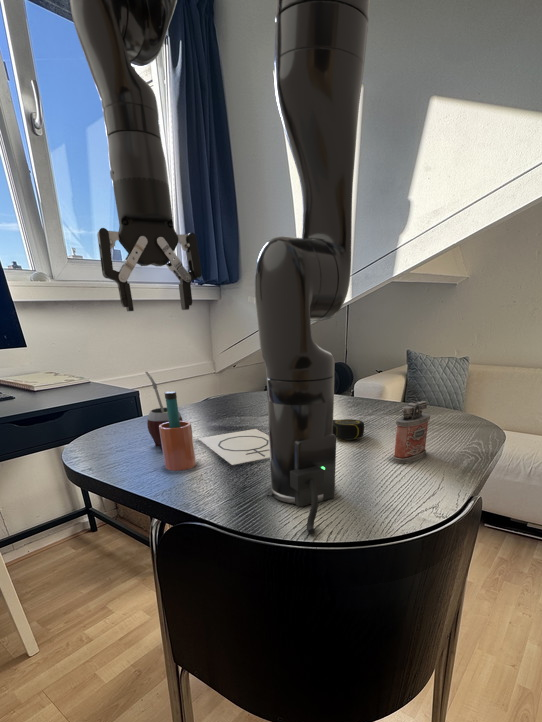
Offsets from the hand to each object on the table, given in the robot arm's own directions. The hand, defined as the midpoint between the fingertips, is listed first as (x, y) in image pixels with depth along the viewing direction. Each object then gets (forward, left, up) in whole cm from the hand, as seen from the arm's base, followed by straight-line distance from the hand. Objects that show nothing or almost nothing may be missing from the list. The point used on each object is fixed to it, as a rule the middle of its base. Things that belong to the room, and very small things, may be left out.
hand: (158, 310), depth 64 cm
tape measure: (-1, -36, -26) cm, 45 cm away
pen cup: (0, 0, -26) cm, 26 cm away
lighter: (-18, -38, -26) cm, 50 cm away
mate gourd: (+13, -1, -26) cm, 29 cm away
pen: (0, 0, -26) cm, 26 cm away
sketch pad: (+5, -15, -26) cm, 31 cm away
